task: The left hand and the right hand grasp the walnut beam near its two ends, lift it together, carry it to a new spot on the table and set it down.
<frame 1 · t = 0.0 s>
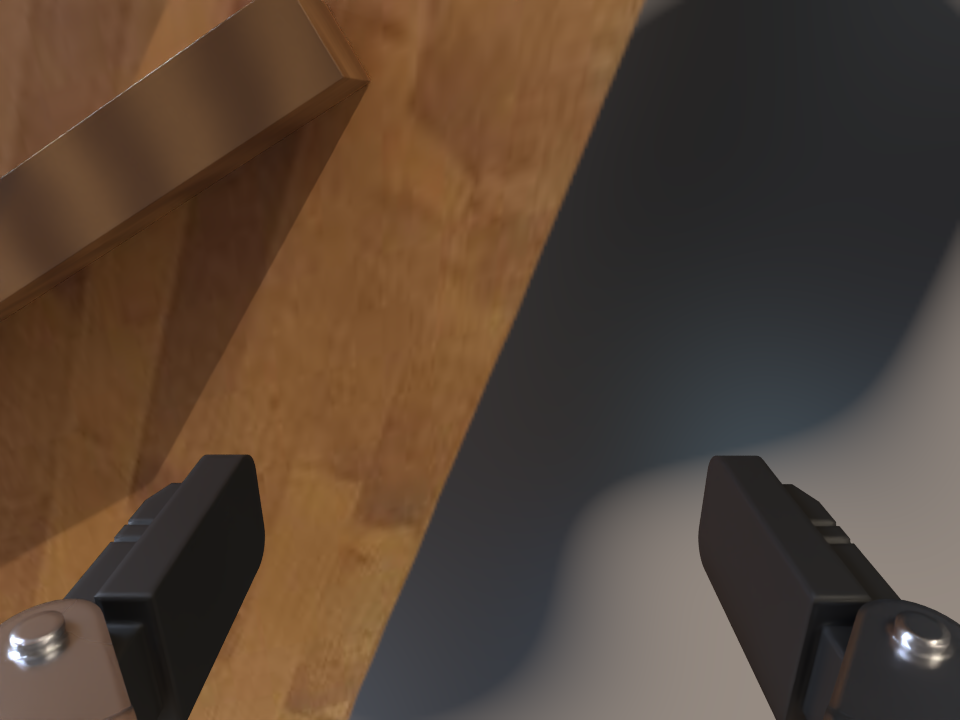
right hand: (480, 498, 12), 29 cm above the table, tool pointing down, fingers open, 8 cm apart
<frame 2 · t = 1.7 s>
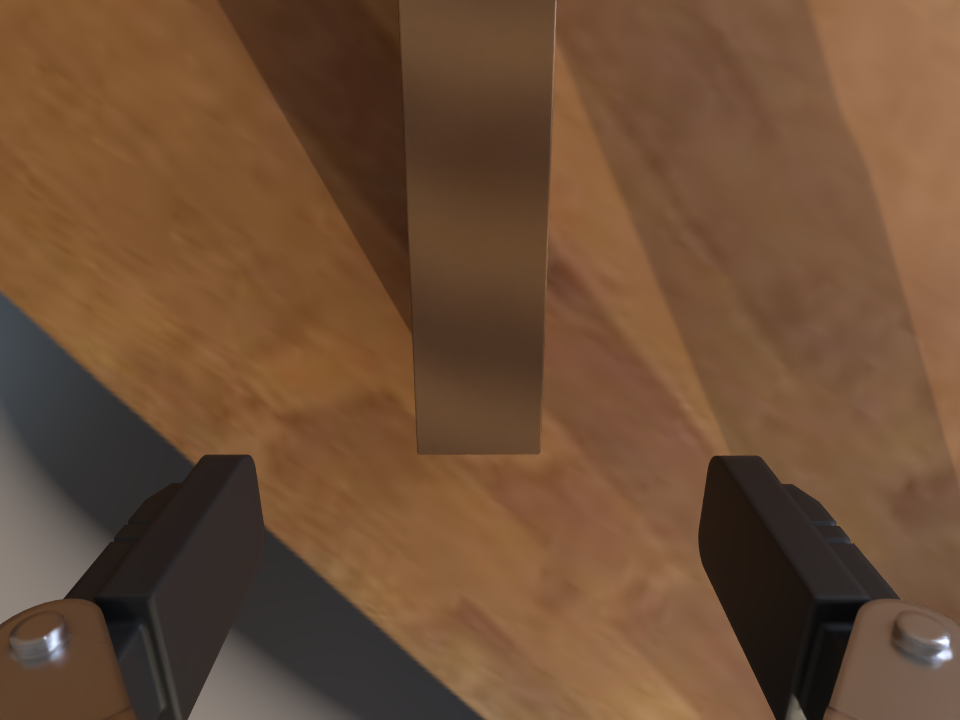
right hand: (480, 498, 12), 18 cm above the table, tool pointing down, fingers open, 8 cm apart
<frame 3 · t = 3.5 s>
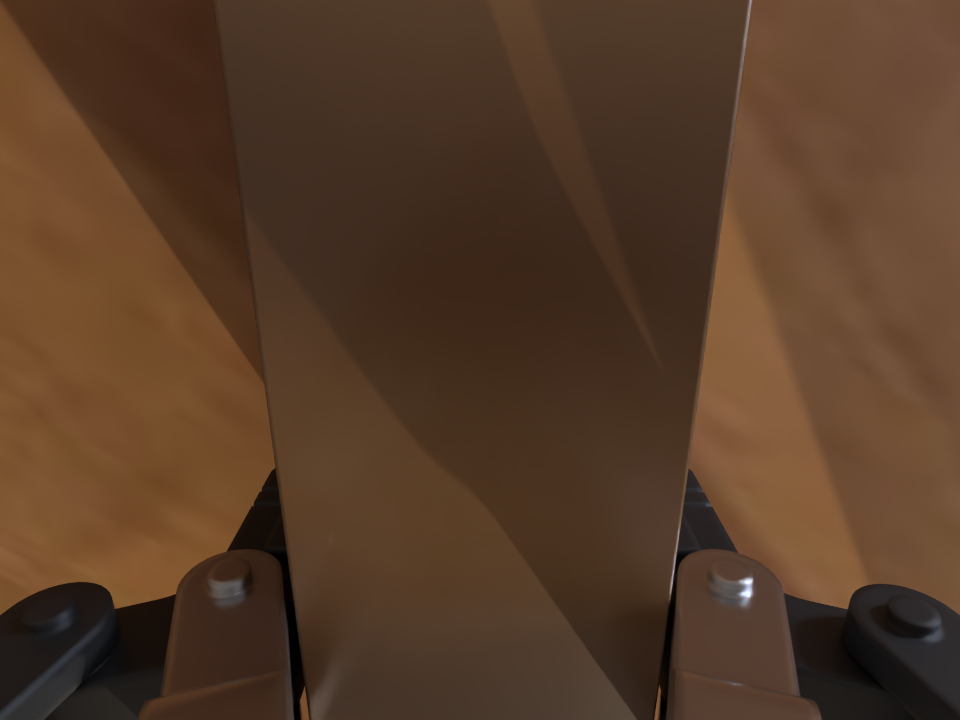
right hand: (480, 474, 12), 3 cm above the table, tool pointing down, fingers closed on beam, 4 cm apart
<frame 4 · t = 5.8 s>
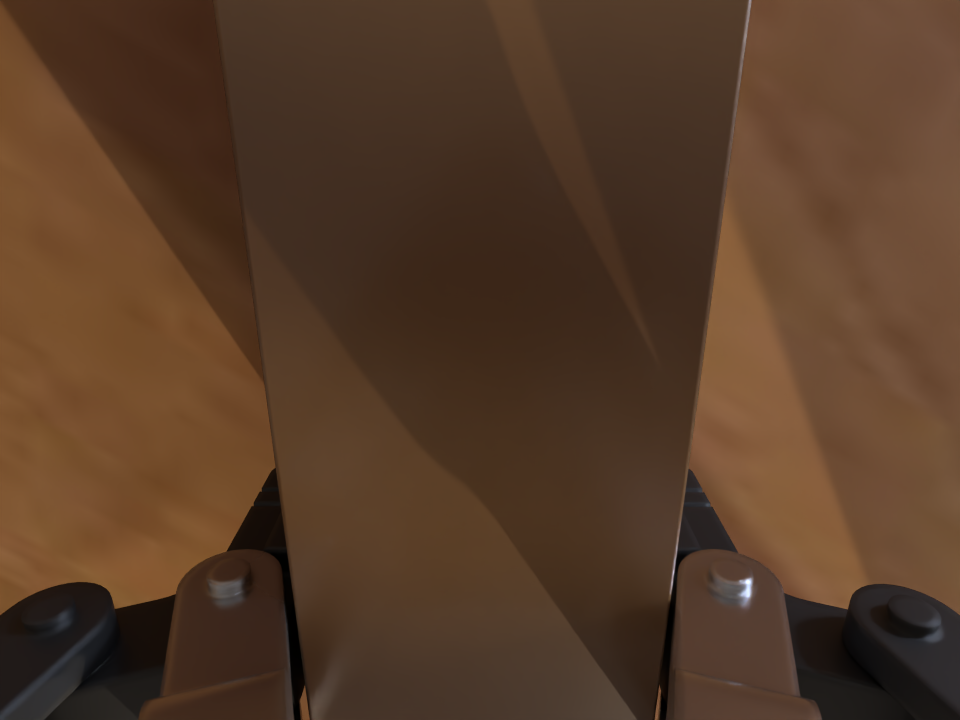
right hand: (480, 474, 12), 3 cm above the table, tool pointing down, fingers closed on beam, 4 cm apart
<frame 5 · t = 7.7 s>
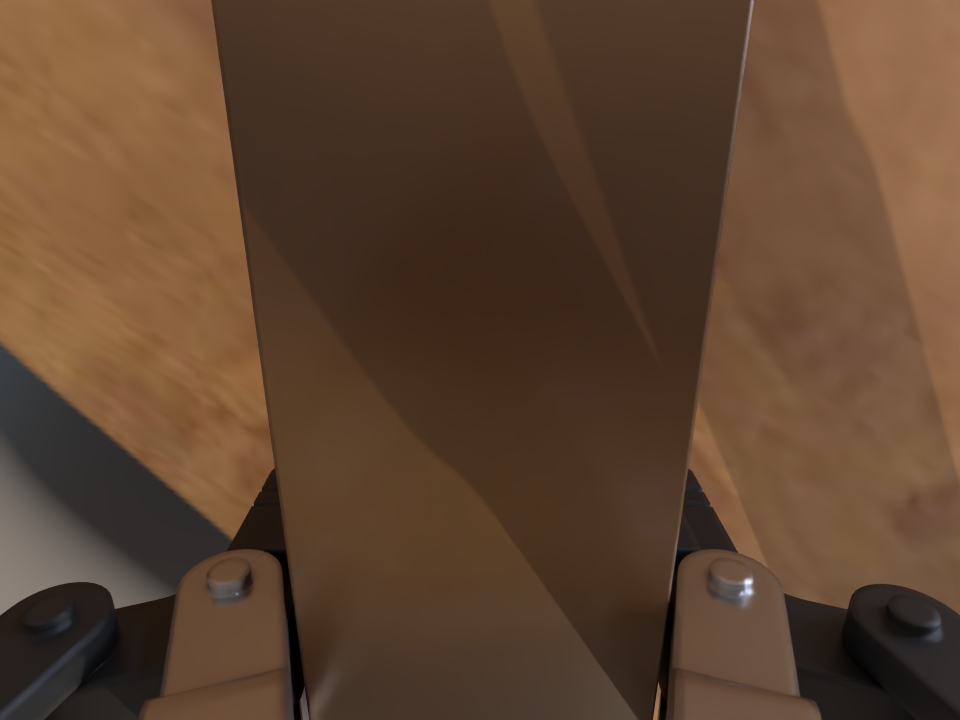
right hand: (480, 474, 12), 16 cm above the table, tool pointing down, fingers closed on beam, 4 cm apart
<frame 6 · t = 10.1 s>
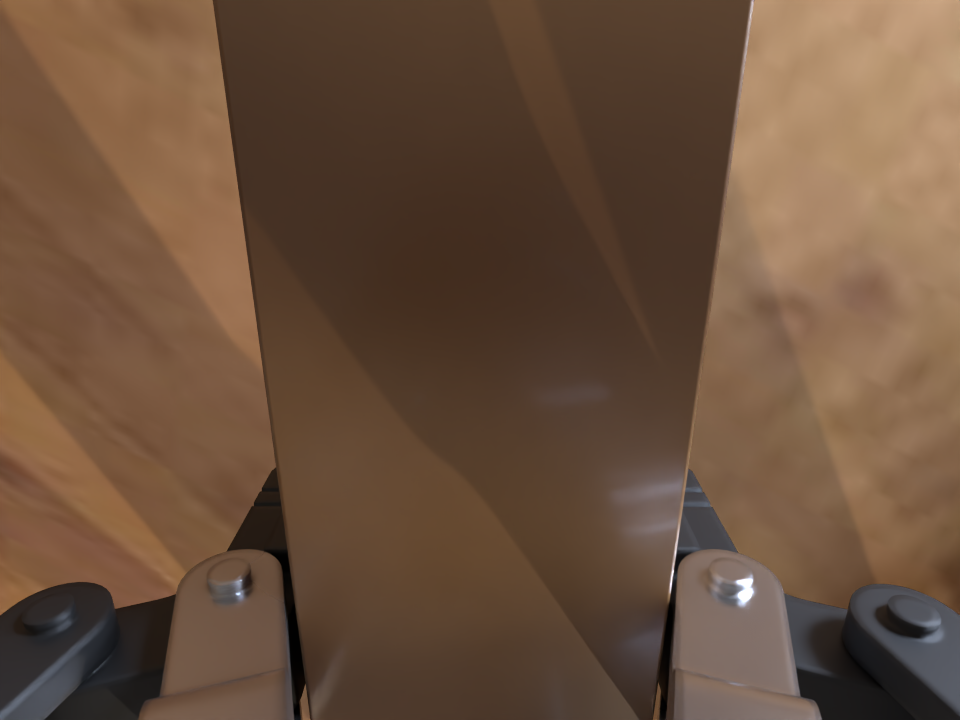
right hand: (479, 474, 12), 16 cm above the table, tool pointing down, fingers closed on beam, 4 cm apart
when the left hand's fingers open (2 cm above the table, at t = 12.0 s): beam stays where it is, on the table.
when the right hand's fingers open (4 cm above the table, at t = 12.2 s): beam stays where it is, on the table.
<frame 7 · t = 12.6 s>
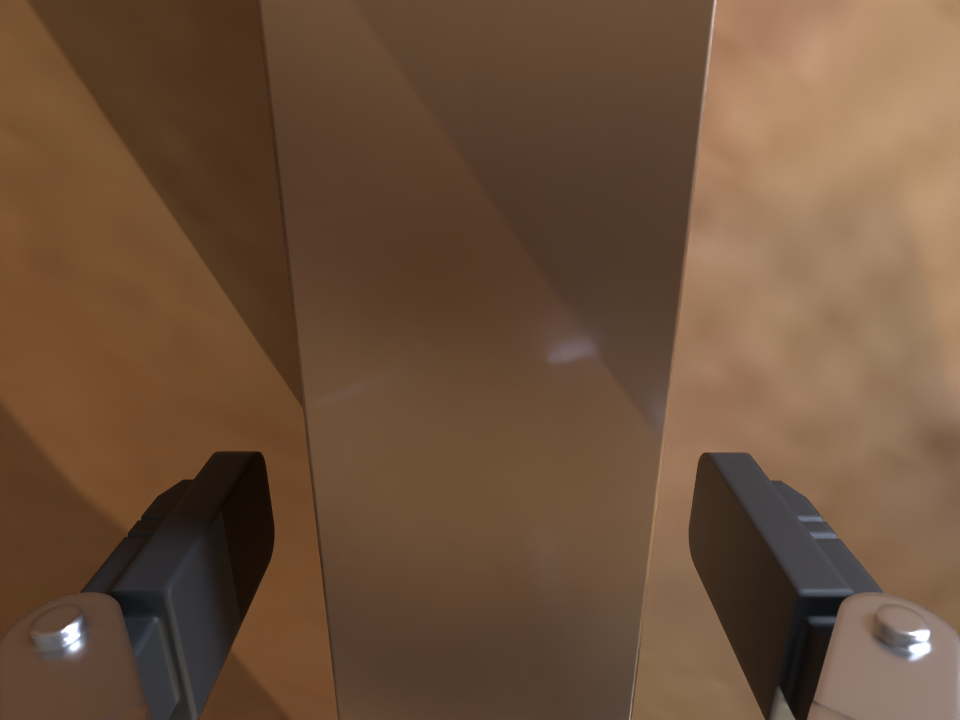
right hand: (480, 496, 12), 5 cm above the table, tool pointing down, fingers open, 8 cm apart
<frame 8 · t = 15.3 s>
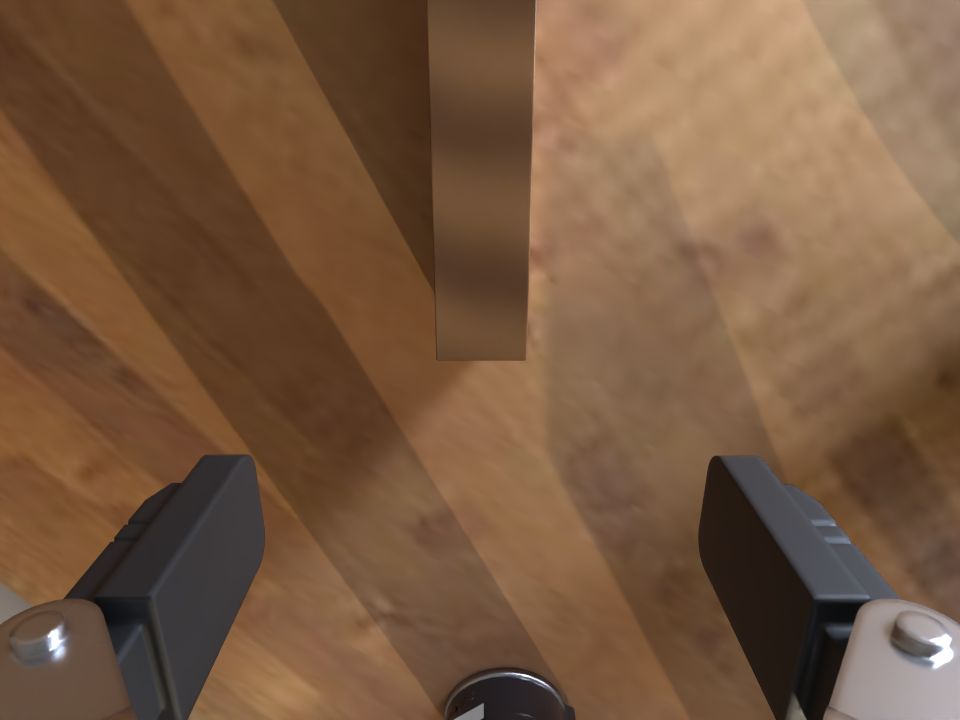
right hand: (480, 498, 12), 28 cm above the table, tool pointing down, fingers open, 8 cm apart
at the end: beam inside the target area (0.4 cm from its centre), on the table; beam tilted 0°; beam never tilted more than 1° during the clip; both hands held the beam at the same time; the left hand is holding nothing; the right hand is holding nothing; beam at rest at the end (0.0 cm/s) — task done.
